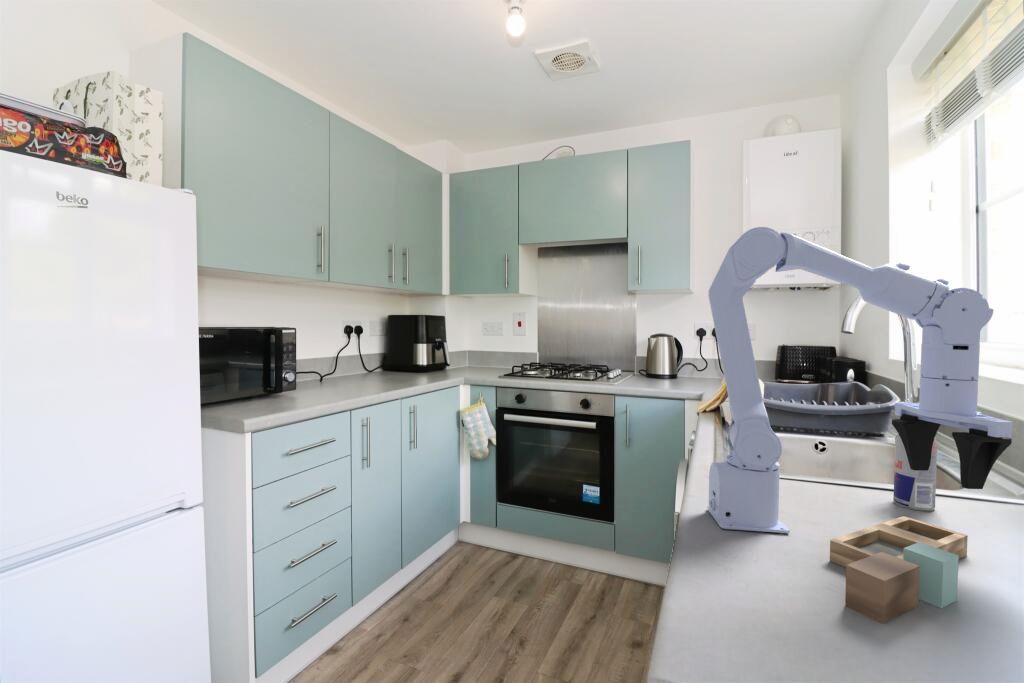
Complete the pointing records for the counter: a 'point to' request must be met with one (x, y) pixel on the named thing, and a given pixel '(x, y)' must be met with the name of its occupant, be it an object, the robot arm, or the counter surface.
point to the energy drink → (914, 480)
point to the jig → (895, 540)
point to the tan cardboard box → (882, 586)
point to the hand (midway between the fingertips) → (944, 478)
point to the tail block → (934, 573)
